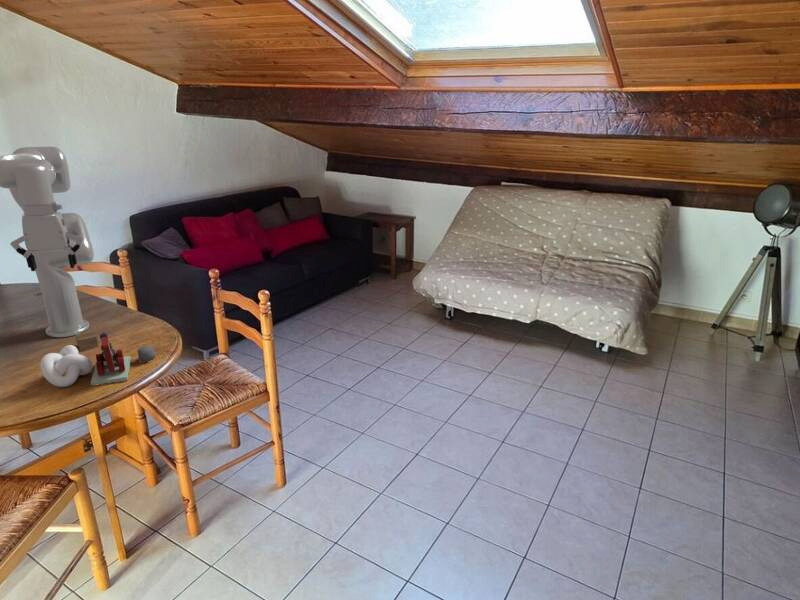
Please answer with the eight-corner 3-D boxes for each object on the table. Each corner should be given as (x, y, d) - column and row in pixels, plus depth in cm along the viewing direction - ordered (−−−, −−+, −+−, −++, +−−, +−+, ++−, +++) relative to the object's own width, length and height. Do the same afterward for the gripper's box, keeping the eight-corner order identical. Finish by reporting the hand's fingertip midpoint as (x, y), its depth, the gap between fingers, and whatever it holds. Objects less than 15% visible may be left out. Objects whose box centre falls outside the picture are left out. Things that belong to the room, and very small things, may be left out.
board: (98, 363, 153) (97, 360, 153) (131, 359, 157) (130, 355, 156) (91, 385, 142) (90, 382, 142) (127, 380, 145) (126, 377, 145)
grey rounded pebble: (140, 357, 158) (138, 347, 157) (155, 355, 159) (154, 345, 158) (138, 363, 154) (136, 353, 153) (154, 362, 156) (152, 352, 154)
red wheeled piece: (123, 356, 156) (117, 325, 152) (126, 375, 146) (120, 342, 142) (97, 361, 152) (90, 330, 148) (98, 381, 143) (91, 348, 139)
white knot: (39, 377, 145) (32, 349, 142) (86, 364, 153) (80, 337, 150) (49, 394, 138) (41, 365, 134) (98, 379, 146) (91, 351, 142)
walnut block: (77, 345, 164) (75, 334, 162) (95, 341, 167) (93, 330, 165) (80, 351, 160) (77, 340, 159) (98, 347, 163) (96, 336, 162)
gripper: (78, 205, 147) (90, 261, 153) (6, 208, 141) (21, 266, 147) (73, 211, 140) (86, 269, 147) (-2, 214, 134) (14, 275, 141)
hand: (53, 268), depth 147 cm, fingers open, 9 cm apart
